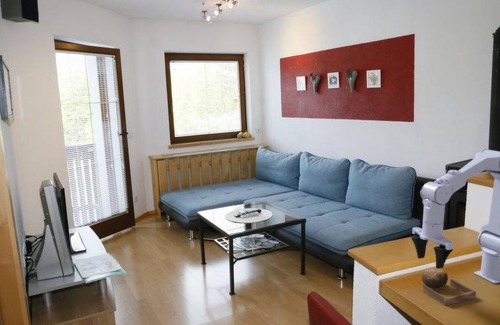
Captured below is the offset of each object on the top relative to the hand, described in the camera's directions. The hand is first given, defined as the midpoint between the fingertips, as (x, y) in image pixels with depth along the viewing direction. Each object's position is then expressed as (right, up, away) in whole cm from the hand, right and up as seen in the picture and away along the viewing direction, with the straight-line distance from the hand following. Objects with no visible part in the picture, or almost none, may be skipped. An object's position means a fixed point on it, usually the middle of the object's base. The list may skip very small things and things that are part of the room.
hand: (430, 262), depth 123 cm
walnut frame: (+6, -10, 0) cm, 12 cm away
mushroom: (+4, -9, +6) cm, 12 cm away
